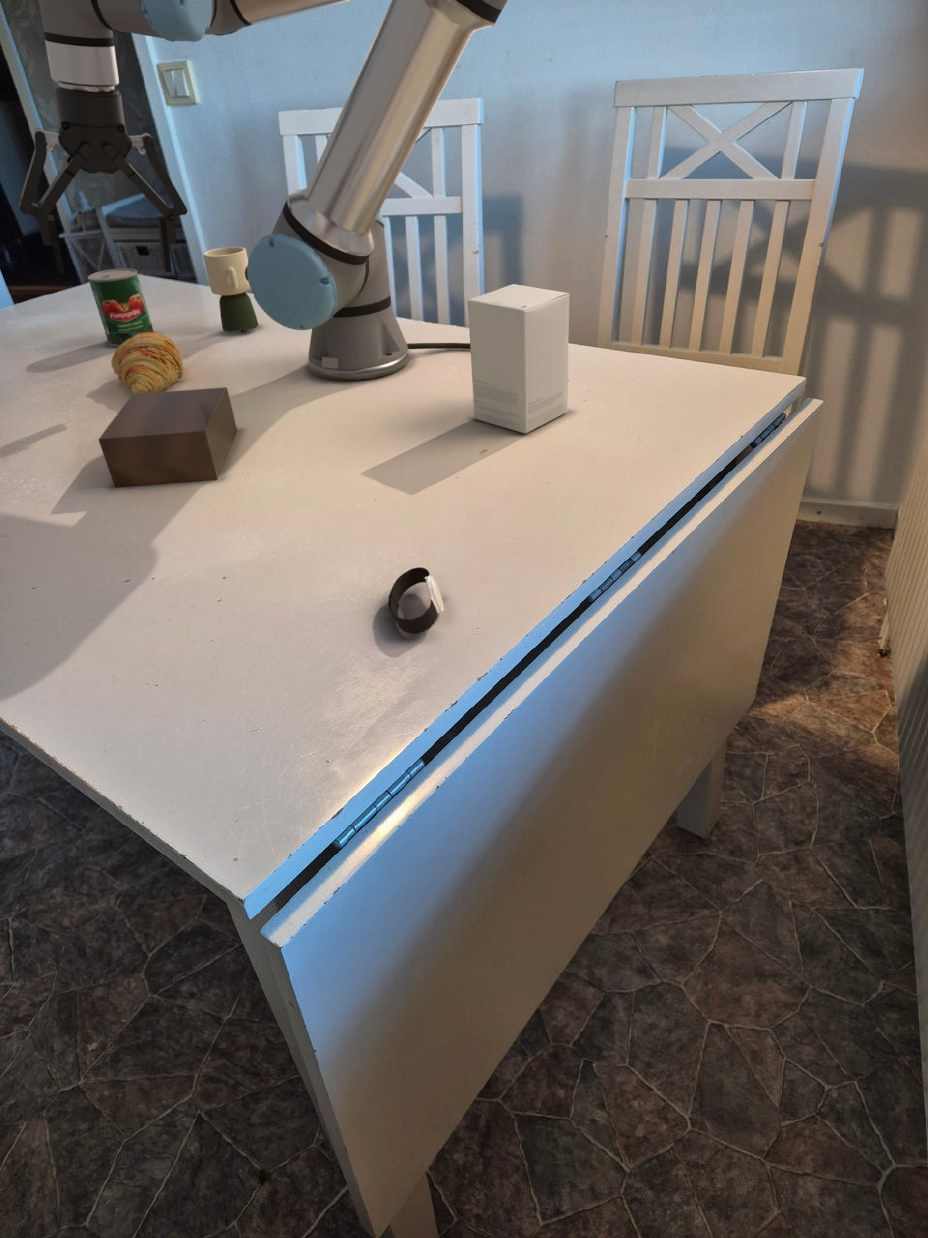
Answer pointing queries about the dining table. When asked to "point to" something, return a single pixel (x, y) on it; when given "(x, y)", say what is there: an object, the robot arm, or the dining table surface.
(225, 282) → the character mug
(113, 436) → the walnut block
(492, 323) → the white product box
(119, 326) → the canned tomato
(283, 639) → the dining table surface
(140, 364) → the croissant
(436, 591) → the watch
